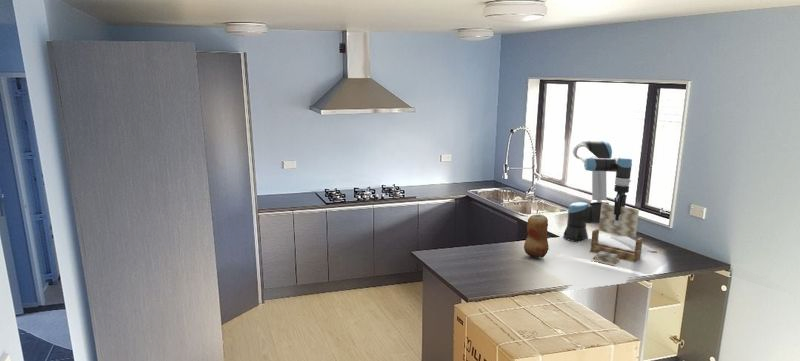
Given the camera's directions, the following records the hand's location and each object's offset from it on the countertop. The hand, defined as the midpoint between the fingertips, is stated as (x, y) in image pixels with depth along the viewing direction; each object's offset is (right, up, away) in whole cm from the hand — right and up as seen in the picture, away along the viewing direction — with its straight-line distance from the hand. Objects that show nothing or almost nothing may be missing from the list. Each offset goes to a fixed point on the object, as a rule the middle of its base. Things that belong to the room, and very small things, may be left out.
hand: (617, 225), depth 291 cm
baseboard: (+21, -16, +28) cm, 38 cm away
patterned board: (0, -5, +1) cm, 5 cm away
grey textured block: (-10, -21, -7) cm, 24 cm away
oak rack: (0, -19, +3) cm, 19 cm away
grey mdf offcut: (-9, -18, -7) cm, 22 cm away
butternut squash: (-48, -19, -2) cm, 51 cm away
